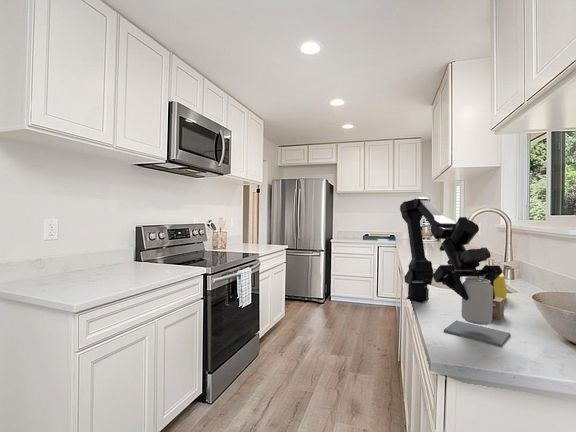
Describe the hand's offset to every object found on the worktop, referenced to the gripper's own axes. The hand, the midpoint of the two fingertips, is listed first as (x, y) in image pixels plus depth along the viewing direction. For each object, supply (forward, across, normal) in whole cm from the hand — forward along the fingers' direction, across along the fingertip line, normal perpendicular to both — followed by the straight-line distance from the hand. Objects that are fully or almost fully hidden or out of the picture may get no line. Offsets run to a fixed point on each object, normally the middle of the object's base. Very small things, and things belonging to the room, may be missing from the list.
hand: (480, 299), depth 89 cm
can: (+4, 0, +6) cm, 7 cm away
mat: (+6, 0, +8) cm, 10 cm away
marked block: (-4, +15, +18) cm, 24 cm away
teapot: (-19, +32, +34) cm, 51 cm away
